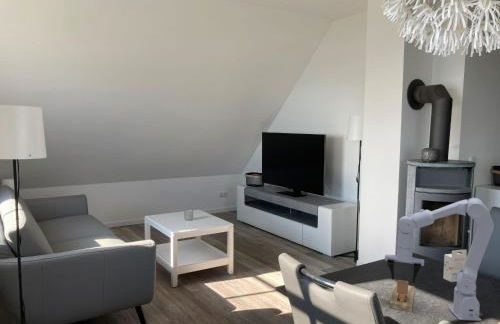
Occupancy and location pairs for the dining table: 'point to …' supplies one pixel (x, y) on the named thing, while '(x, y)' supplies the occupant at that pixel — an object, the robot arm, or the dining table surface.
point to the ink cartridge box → (453, 264)
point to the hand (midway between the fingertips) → (403, 280)
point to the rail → (408, 299)
